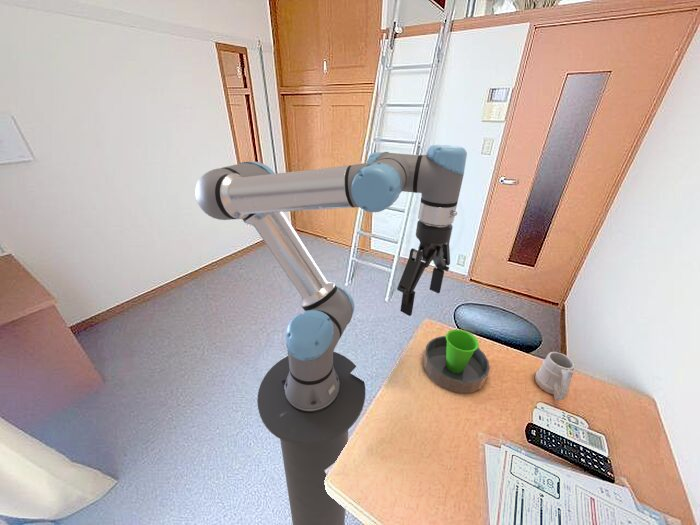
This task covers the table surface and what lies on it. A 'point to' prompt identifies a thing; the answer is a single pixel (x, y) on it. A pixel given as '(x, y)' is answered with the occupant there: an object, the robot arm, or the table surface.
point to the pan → (455, 382)
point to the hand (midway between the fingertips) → (421, 301)
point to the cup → (459, 349)
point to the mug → (555, 374)
